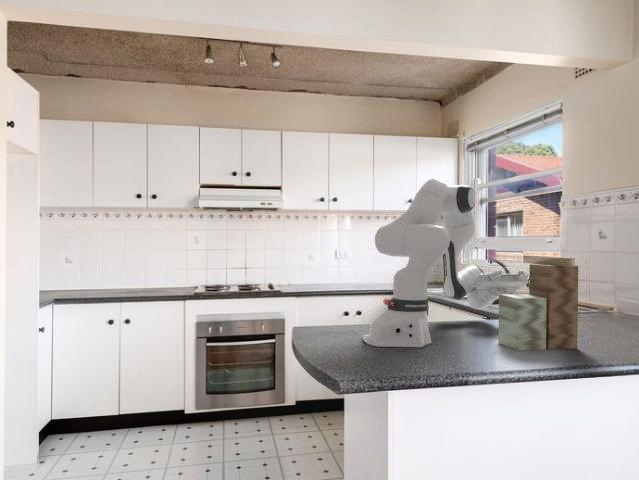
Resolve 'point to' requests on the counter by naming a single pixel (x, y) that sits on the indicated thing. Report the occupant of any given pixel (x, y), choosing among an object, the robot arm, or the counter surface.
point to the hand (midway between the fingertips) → (510, 272)
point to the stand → (542, 311)
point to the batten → (549, 260)
